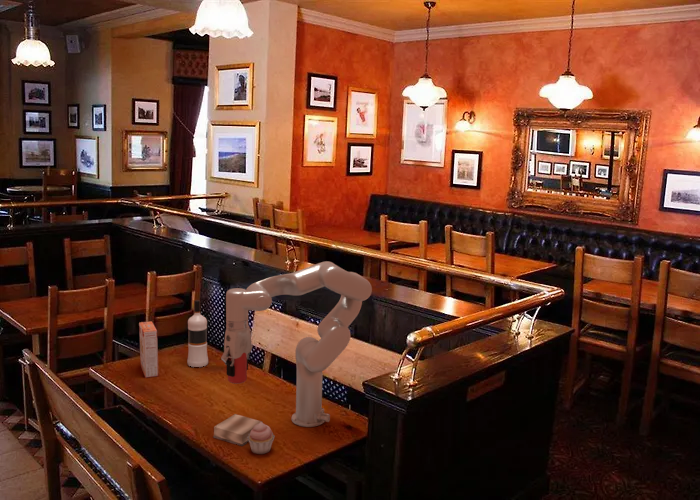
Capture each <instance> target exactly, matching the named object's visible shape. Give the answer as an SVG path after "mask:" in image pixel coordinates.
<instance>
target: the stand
mask: <svg viewBox="0 0 700 500" xmlns="http://www.w3.org/2000/svg"><path fill="white" fill-rule="evenodd" d="M260 422H262V423H263V421H261V420H257V419H254V418H250V417H247V416H244V415H241V414H236V413H235V414H233V415H231V416H229V417H228V418H227V419H225V420H223V421H222V422H220V423H218V424H216V425H215V426H214V427H213V435H212V437H213V438H214V439H217V440H220V441H223V442H227V443H230V444H234V445H236V444H237V446H240V447H243V446H245V445H246V444H248V443H249V440H248V439H247V437H248V436H249V434H250V432H251V430H252V429H253V427H254V426H255V425H257V424H259V423H260ZM247 442H248V443H247Z"/></svg>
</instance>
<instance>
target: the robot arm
mask: <svg viewBox="0 0 700 500" xmlns="http://www.w3.org/2000/svg"><path fill="white" fill-rule="evenodd" d="M324 287H325V288H327V289H329V290H330V291H331V292H334V293H336V294H339V295H340V299H339V301H338V302H337V303H336V305H335V306H334V307H333V308H332V309H331V310H330V311H329V312H328V314H327V315H326V316H325V317H324V318H323V319H322V320H321V321H320V323H319V324H318V325H317V330H316V331H317V334H318V336H319V337H320V338H319V340H318V339H317V338H315V337H312V336H305V337H303V338H301V339H300V340H299V341H298V343H297V344H296V347H295V353H294V354H295V364H296V365H295V366H296V385H295V386H296V391H295V393H296V394H295V396H296V397H295V412H294V413H293V414H292V416H291V421H292V423H293V424H295V425H297V426H299V427H304V428H312V427H317V426H321V425H323V424H324V423H325V422H327V423H329V422H330V420H331V414H330V413H325V408H324V407H322V406H323V405H322V403H323V402H322V401H323V371H325V370H327V369H328V368H329V367H330V366H331V364H333V362H335V360H336V359H337V358H338V357H339V356H340V355H341V354H342V353H343V351H344V350H345V349H346V348H347V347H348V345H349V344H350V341H351V331H350V329H349V326H350V325H351V324H352V323H353V322H354V320H355V319H356V318H357V317H358V315H359V313H360V310H361V308H362V305H363V301H366V300H367V299H369V298H370V296H371V295H372V293H373V291H372V290H373V287H372V284H371V283H370V281H369V280H368V279H366V278H365V277H363V276H362V275H360V274H358V273H357V272H354V271H347V270H345V269H343V268H342V267H340V266H339V265H337V264H335V263H334V262H332V261H327V260H326V261H322V262H318V263H316V264H313V265H310V266H308V267H305V268H303V269H299V270H297V271H294V272H291V273H284V274H279V275H274V276H270V277H267V278H264V279H261V280H259V281H255V282H254V283H251V284H250V285H249V286H247V288H246V289H245V288H241V287H237V288H229V289H227V291H226V293H225V294H226V295H225V304H226V305H225V308H226V309H225V311H226V313H225V317H226V319H225V322H226V324H225V327H226V329H225V334H224V342H223V346H224V347H223V353H222V355H221V357H220V359H221V361H223V363H224V364H225V366H226V376H227V377H228V376H231V377H234V376H235V366H234V361H235V359H237V358H239V357H241V355H242V354H243V353H246V354H247V371H248V370H249V360H250V354H251V352H252V349H253V347H254V346H253V345H252V333H251V328H250V326H249V311H255V312H263V311H266V310H268V309H269V308H270V307H271V305H272V303H273V300H272V299H273V298H275V297H277V296H282V295H288V296H302V295H306V294H307V293H311V292H313V291H316V290H319V289H321V288H324ZM230 355H231V356H230ZM230 358H232V360H231V361H230Z"/></svg>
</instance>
